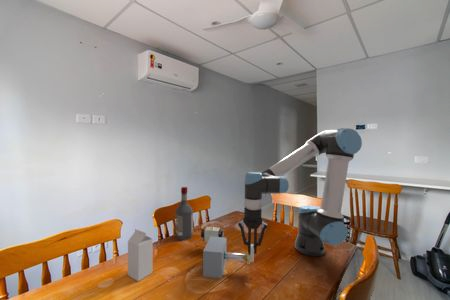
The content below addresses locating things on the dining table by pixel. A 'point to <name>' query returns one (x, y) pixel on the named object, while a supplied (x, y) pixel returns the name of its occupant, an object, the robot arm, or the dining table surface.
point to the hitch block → (214, 257)
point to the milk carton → (140, 255)
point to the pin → (237, 256)
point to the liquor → (184, 218)
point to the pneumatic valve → (211, 233)
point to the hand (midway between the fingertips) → (252, 260)
